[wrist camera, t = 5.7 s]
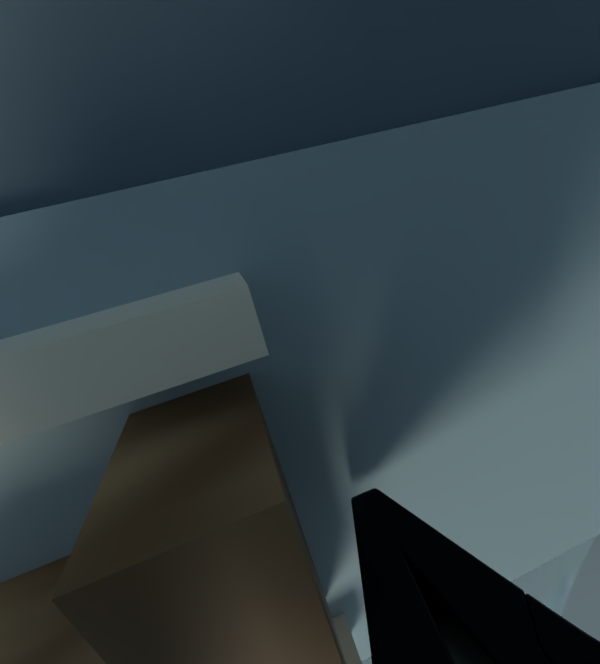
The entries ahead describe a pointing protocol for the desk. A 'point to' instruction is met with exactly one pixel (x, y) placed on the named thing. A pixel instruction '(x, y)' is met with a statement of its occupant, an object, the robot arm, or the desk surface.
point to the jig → (331, 335)
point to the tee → (180, 553)
